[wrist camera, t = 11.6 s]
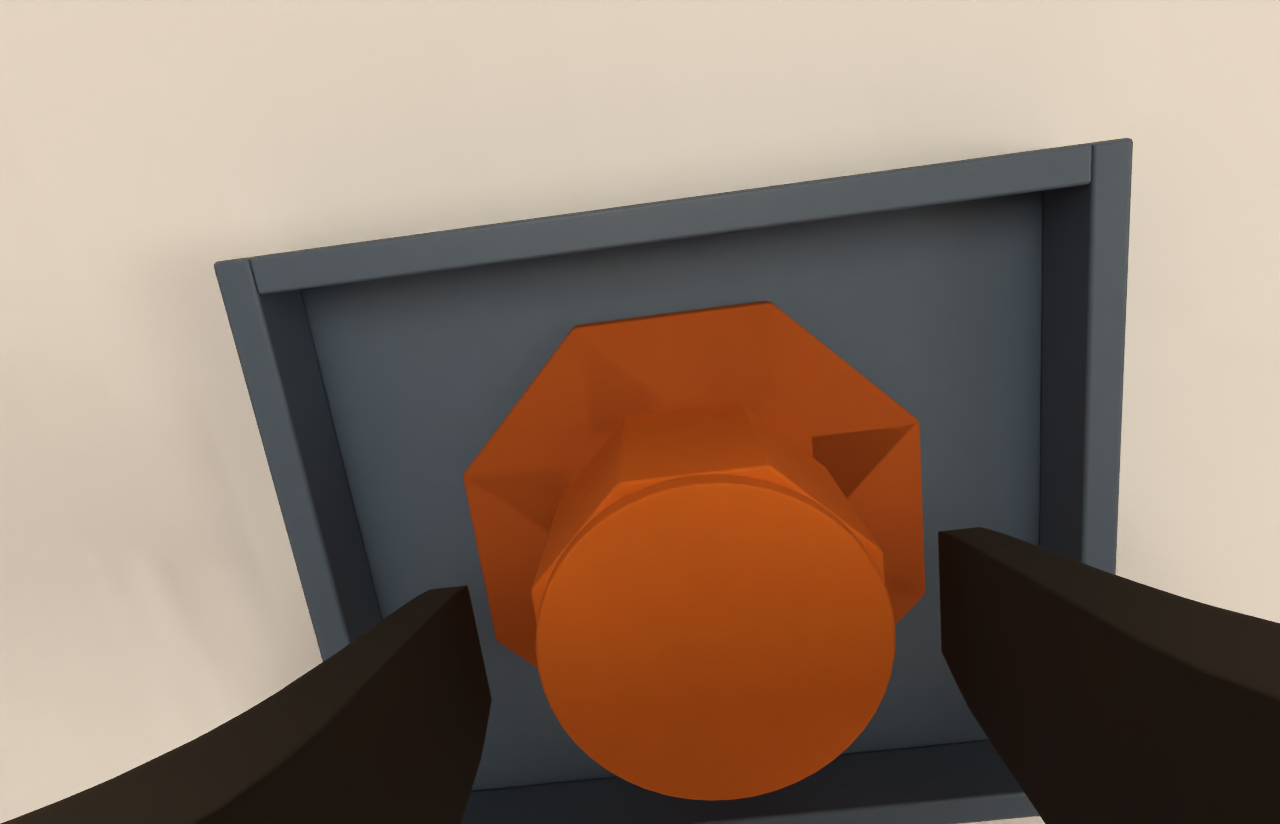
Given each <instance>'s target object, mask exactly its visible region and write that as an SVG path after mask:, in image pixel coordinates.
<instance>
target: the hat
mask: <svg viewBox="0 0 1280 824" xmlns="http://www.w3.org/2000/svg"><path fill="white" fill-rule="evenodd" d="M463 481H464V485H465V490H466V495H467V500H468V505H469V510H470V515H471V520H472V524H473V529H474V534H475V539H476V544H477V549H478V554H479V559H480V564H481V568H482V573H483V578H484V583H485V588H486V593H487V598H488V603H489V607H490V612H491V617H492V622H493V627H494V632H495V637H496V639H497V641H498V642H499V643H501V644H502V645H504V646H505V647H507V648H508V649H510V650H511V651H513V652H514V653H516V654H517V655H519V656H520V657H522V658H523V659H525V660H526V661H528V662H529V663H531V664H532V665H534V666H535V667H537V668H538V672H539V676H540V680H541V683H542V687H543V690H544V693H545V695H546V697H547V700H548V702H549V704H550V707H551V709H552V711H553V712H554V714H555V716H556V717H557V719H558V721H559V722H560V724H561V726H562V727H563V729H564V730H565V731H566V732H567V733H568V735H569V736H570V737H571V738H572V740H573V741H574V742H575V743H576V744H577V745H578V746H579V747H580V748H581V749H582V750H583V751H584V752H585V753H586V754H587V755H588V756H589V757H590V758H592V759H593V760H594V761H596V762H597V763H598V764H600V765H601V766H602V767H604V768H605V769H606V770H608V771H610V772H611V773H613V774H615V775H617V776H618V777H620V778H622V779H624V780H626V781H628V782H630V783H632V784H635V785H637V786H640V787H642V788H644V789H647V790H650V791H654V792H657V793H661V794H664V795H668V796H674V797H679V798H685V799H694V800H709V801H712V800H733V799H740V798H746V797H753V796H757V795H761V794H765V793H769V792H772V791H776V790H779V789H781V788H784V787H786V786H789V785H791V784H794V783H796V782H798V781H800V780H802V779H804V778H806V777H808V776H810V775H812V774H814V773H815V772H817V771H818V770H820V769H821V768H823V767H824V766H826V765H827V764H829V763H830V762H832V761H833V760H834V759H835V758H837V757H838V756H839V755H840V754H841V753H842V752H843V751H844V750H846V749H847V748H848V747H849V746H850V745H851V744H852V743H853V742H854V740H855V739H856V738H857V737H858V736H859V735H860V734H861V733H862V731H863V730H864V729H865V727H866V726H867V724H868V723H869V721H870V720H871V719H872V717H873V716H874V714H875V713H876V711H877V709H878V706H879V704H880V702H881V700H882V698H883V696H884V694H885V692H886V689H887V686H888V683H889V680H890V677H891V673H892V667H893V661H894V656H895V638H896V630H895V625H896V624H897V623H898V622H899V621H900V620H901V619H902V617H903V616H904V615H905V614H906V613H907V612H908V611H909V610H910V609H911V608H912V607H913V606H914V605H915V604H916V603H917V602H918V601H919V600H920V599H921V598H922V597H923V596H924V593H925V568H924V538H923V509H922V479H921V450H920V423H919V421H918V419H917V418H916V417H914V416H913V415H912V414H911V413H909V412H908V411H907V410H906V409H904V408H903V407H902V406H901V405H899V404H898V403H897V402H896V401H894V400H893V399H892V398H891V397H889V396H888V395H887V394H886V393H884V392H883V391H882V390H881V389H879V388H878V387H877V386H876V385H874V384H873V383H872V382H871V381H869V380H868V379H867V378H866V377H864V376H863V375H862V374H861V373H859V372H858V371H857V370H856V369H854V368H853V367H852V366H851V365H849V364H848V363H847V362H846V361H844V360H843V359H842V358H841V357H839V356H838V355H837V354H836V353H834V352H833V351H832V350H831V349H829V348H828V347H827V346H826V345H824V344H823V343H822V342H821V341H819V340H818V339H817V338H816V337H814V336H813V335H812V334H811V333H809V332H808V331H807V330H806V329H804V328H803V327H802V326H801V325H799V324H798V323H797V322H796V321H794V320H793V319H792V318H791V317H789V316H788V315H787V314H786V313H784V312H783V311H782V310H781V309H779V308H778V307H777V306H776V305H774V304H773V303H772V302H770V301H758V302H751V303H743V304H735V305H727V306H720V307H712V308H704V309H696V310H689V311H681V312H673V313H665V314H657V315H650V316H642V317H634V318H626V319H619V320H611V321H603V322H595V323H588V324H580V325H576V326H575V327H573V328H572V329H571V331H570V332H569V333H568V335H567V336H566V337H565V339H564V340H563V341H562V343H561V344H560V345H559V347H558V348H557V349H556V351H555V352H554V353H553V355H552V356H551V357H550V359H549V360H548V361H547V363H546V364H545V366H544V367H543V368H542V370H541V371H540V372H539V374H538V375H537V376H536V378H535V379H534V380H533V382H532V383H531V384H530V386H529V387H528V388H527V390H526V391H525V392H524V394H523V395H522V396H521V398H520V399H519V400H518V402H517V403H516V404H515V406H514V407H513V408H512V410H511V411H510V412H509V414H508V415H507V416H506V418H505V419H504V420H503V422H502V423H501V424H500V426H499V427H498V428H497V430H496V431H495V432H494V434H493V435H492V436H491V438H490V439H489V440H488V442H487V443H486V444H485V446H484V447H483V448H482V450H481V451H480V452H479V454H478V455H477V456H476V458H475V459H474V460H473V462H472V463H471V464H470V466H469V467H468V468H467V470H466V471H465V473H464V476H463Z"/></svg>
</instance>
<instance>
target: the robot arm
mask: <svg viewBox="0 0 1280 824" xmlns="http://www.w3.org/2000/svg"><path fill="white" fill-rule="evenodd" d="M938 550H939V584H940V618H941V652H942V654H943V656H944V658H945V660H946V662H947V665H948V667H949V669H950V671H951V673H952V675H953V677H954V680H955V682H956V684H957V686H958V688H959V690H960V692H961V694H962V696H963V698H964V700H965V702H966V704H967V706H968V708H969V710H970V711H971V713H972V714H973V716H974V717H975V719H976V721H977V722H978V724H979V725H980V727H981V728H982V730H983V731H984V733H985V734H986V736H987V737H988V739H989V740H990V742H991V743H992V745H993V746H994V748H995V749H996V751H997V752H998V754H999V755H1000V757H1001V758H1002V760H1003V761H1004V763H1005V764H1006V766H1007V767H1008V769H1009V770H1010V772H1011V773H1012V775H1013V776H1014V778H1015V779H1016V781H1017V782H1018V784H1019V785H1020V787H1021V788H1022V790H1023V791H1024V793H1025V794H1026V796H1027V797H1028V799H1029V800H1030V802H1031V803H1032V805H1033V806H1034V808H1035V809H1036V811H1037V812H1038V814H1039V815H1040V817H1041V818H1042V819H1043V821H1044V822H1045V824H1280V623H1276V622H1272V621H1268V620H1264V619H1260V618H1256V617H1253V616H1249V615H1245V614H1241V613H1237V612H1233V611H1229V610H1225V609H1221V608H1217V607H1214V606H1210V605H1207V604H1204V603H1200V602H1197V601H1193V600H1190V599H1187V598H1183V597H1180V596H1177V595H1174V594H1171V593H1168V592H1165V591H1162V590H1159V589H1156V588H1152V587H1149V586H1146V585H1143V584H1140V583H1137V582H1134V581H1131V580H1128V579H1126V578H1123V577H1120V576H1117V575H1114V574H1111V573H1109V572H1106V571H1103V570H1100V569H1098V568H1095V567H1092V566H1089V565H1087V564H1084V563H1081V562H1079V561H1076V560H1073V559H1071V558H1068V557H1066V556H1063V555H1060V554H1058V553H1055V552H1052V551H1050V550H1047V549H1044V548H1042V547H1039V546H1037V545H1034V544H1031V543H1029V542H1026V541H1023V540H1021V539H1018V538H1015V537H1012V536H1009V535H1006V534H1003V533H1000V532H997V531H994V530H990V529H986V528H982V527H974V528H966V529H957V530H948V531H939V532H938ZM491 701H492V698H491V693H490V689H489V684H488V679H487V674H486V670H485V665H484V660H483V655H482V651H481V646H480V641H479V636H478V632H477V627H476V622H475V617H474V612H473V608H472V603H471V598H470V593H469V589H468V585H465V586H456V587H448V588H439V589H430V590H428V591H426V592H424V593H422V594H420V595H418V596H417V597H415V598H414V599H412V600H410V601H409V602H407V603H406V604H405V605H403V606H402V607H400V608H399V609H397V610H396V611H394V612H393V613H392V614H390V615H389V616H387V617H386V618H385V619H383V620H382V621H380V622H379V623H378V624H376V625H375V626H374V627H372V628H371V629H369V630H368V631H367V632H365V633H364V634H362V635H361V636H360V637H358V638H357V639H355V640H354V641H353V642H351V643H350V644H348V645H347V646H346V647H344V648H343V649H341V650H340V651H339V652H337V653H336V654H334V655H333V656H331V657H330V658H328V659H327V660H325V661H324V662H322V663H321V664H319V665H318V666H316V667H315V668H313V669H312V670H310V671H309V672H307V673H306V674H304V675H303V676H301V677H300V678H298V679H297V680H295V681H294V682H292V683H291V684H289V685H288V686H286V687H285V688H283V689H282V690H280V691H279V692H277V693H276V694H274V695H272V696H271V697H269V698H267V699H266V700H264V701H262V702H261V703H259V704H257V705H256V706H254V707H252V708H251V709H249V710H247V711H246V712H244V713H242V714H240V715H238V716H237V717H235V718H233V719H231V720H229V721H228V722H226V723H224V724H222V725H220V726H219V727H217V728H215V729H213V730H211V731H210V732H208V733H206V734H204V735H202V736H200V737H198V738H196V739H194V740H192V741H191V742H188V743H186V744H184V745H182V746H180V747H178V748H176V749H174V750H172V751H170V752H167V753H165V754H163V755H161V756H159V757H157V758H155V759H153V760H151V761H149V762H147V763H144V764H142V765H140V766H138V767H136V768H134V769H132V770H130V771H128V772H126V773H124V774H121V775H119V776H117V777H115V778H113V779H111V780H108V781H106V782H104V783H101V784H99V785H97V786H94V787H92V788H89V789H87V790H85V791H82V792H80V793H78V794H75V795H73V796H70V797H68V798H66V799H63V800H61V801H58V802H56V803H53V804H51V805H48V806H45V807H43V808H40V809H38V810H35V811H33V812H30V813H28V814H25V815H22V816H20V817H17V818H15V819H12V820H9V821H7V822H4V823H1V824H460V823H461V820H462V817H463V814H464V811H465V808H466V805H467V802H468V799H469V796H470V793H471V790H472V786H473V783H474V780H475V777H476V774H477V771H478V768H479V764H480V761H481V757H482V752H483V747H484V742H485V737H486V731H487V725H488V719H489V713H490V707H491Z"/></svg>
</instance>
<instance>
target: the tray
mask: <svg viewBox="0 0 1280 824" xmlns="http://www.w3.org/2000/svg"><path fill="white" fill-rule="evenodd" d="M1132 148H1133V142H1132V139H1129V138H1122V139H1115V140H1108V141H1100V142H1093V143H1086V144H1078V145H1071V146H1064V147H1056V148H1049V149H1042V150H1034V151H1027V152H1019V153H1012V154H1005V155H997V156H990V157H983V158H975V159H968V160H961V161H953V162H946V163H939V164H931V165H924V166H917V167H909V168H902V169H894V170H887V171H880V172H872V173H865V174H858V175H850V176H843V177H836V178H828V179H821V180H814V181H806V182H799V183H791V184H784V185H777V186H769V187H762V188H755V189H747V190H740V191H733V192H725V193H718V194H711V195H703V196H696V197H689V198H681V199H674V200H666V201H659V202H652V203H644V204H637V205H630V206H622V207H615V208H608V209H600V210H593V211H586V212H578V213H571V214H564V215H556V216H549V217H541V218H534V219H527V220H519V221H512V222H505V223H497V224H490V225H483V226H475V227H468V228H461V229H453V230H446V231H439V232H431V233H424V234H416V235H409V236H402V237H394V238H387V239H380V240H372V241H365V242H358V243H350V244H343V245H336V246H328V247H321V248H314V249H306V250H299V251H291V252H284V253H277V254H269V255H262V256H255V257H248V258H240V259H233V260H225V261H218V262H216V263H215V264H214V269H215V272H216V276H217V280H218V283H219V287H220V291H221V294H222V298H223V301H224V305H225V309H226V312H227V316H228V320H229V323H230V327H231V330H232V334H233V338H234V341H235V345H236V349H237V352H238V356H239V359H240V363H241V367H242V370H243V374H244V378H245V381H246V385H247V388H248V392H249V396H250V399H251V403H252V407H253V410H254V414H255V417H256V421H257V425H258V428H259V432H260V436H261V439H262V443H263V446H264V450H265V454H266V457H267V461H268V465H269V468H270V472H271V475H272V479H273V483H274V486H275V490H276V493H277V497H278V501H279V504H280V508H281V512H282V515H283V519H284V522H285V526H286V530H287V533H288V537H289V541H290V544H291V548H292V551H293V555H294V559H295V562H296V566H297V570H298V573H299V577H300V580H301V584H302V588H303V591H304V595H305V599H306V602H307V606H308V609H309V613H310V617H311V620H312V624H313V628H314V631H315V635H316V638H317V642H318V646H319V649H320V653H321V657H322V660H323V662H324V661H325V660H327V659H328V658H330V657H331V656H333V655H334V654H336V653H337V652H339V651H340V650H341V649H343V648H344V647H346V646H347V645H348V644H350V643H351V642H353V641H354V640H355V639H357V638H358V637H360V636H361V635H362V634H364V633H365V632H367V631H368V630H369V629H371V628H372V627H374V626H375V625H376V624H378V623H379V622H380V621H382V620H383V619H385V618H386V617H387V616H389V615H390V614H392V613H393V612H394V611H396V610H397V609H399V608H400V607H402V606H403V605H405V604H406V603H407V602H409V601H410V600H412V599H414V598H415V597H417V596H418V595H420V594H422V593H424V592H426V591H428V590H430V589H439V588H448V587H456V586H465V585H468V589H469V593H470V598H471V603H472V608H473V612H474V617H475V622H476V627H477V632H478V636H479V641H480V646H481V651H482V655H483V660H484V665H485V670H486V674H487V679H488V684H489V689H490V693H491V698H492V701H491V707H490V713H489V719H488V725H487V731H486V737H485V742H484V747H483V752H482V757H481V761H480V764H479V768H478V771H477V774H476V777H475V780H474V783H473V786H472V790H471V793H470V796H469V799H468V802H467V805H466V808H465V811H464V814H463V817H462V820H461V823H460V824H958V823H969V822H980V821H990V820H1001V819H1012V818H1022V817H1033V816H1040V815H1039V814H1038V812H1037V811H1036V809H1035V808H1034V806H1033V805H1032V803H1031V802H1030V800H1029V799H1028V797H1027V796H1026V794H1025V793H1024V791H1023V790H1022V788H1021V787H1020V785H1019V784H1018V782H1017V781H1016V779H1015V778H1014V776H1013V775H1012V773H1011V772H1010V770H1009V769H1008V767H1007V766H1006V764H1005V763H1004V761H1003V760H1002V758H1001V757H1000V755H999V754H998V752H997V751H996V749H995V748H994V746H993V745H992V743H991V742H990V740H989V739H988V737H987V736H986V734H985V733H984V731H983V730H982V728H981V727H980V725H979V724H978V722H977V721H976V719H975V717H974V716H973V714H972V713H971V711H970V710H969V708H968V706H967V704H966V702H965V700H964V698H963V696H962V694H961V692H960V690H959V688H958V686H957V684H956V682H955V680H954V677H953V675H952V673H951V671H950V669H949V667H948V665H947V662H946V660H945V658H944V656H943V654H942V652H941V618H940V584H939V550H938V532H939V531H948V530H957V529H966V528H974V527H982V528H986V529H990V530H994V531H997V532H1000V533H1003V534H1006V535H1009V536H1012V537H1015V538H1018V539H1021V540H1023V541H1026V542H1029V543H1031V544H1034V545H1037V546H1039V547H1042V548H1044V549H1047V550H1050V551H1052V552H1055V553H1058V554H1060V555H1063V556H1066V557H1068V558H1071V559H1073V560H1076V561H1079V562H1081V563H1084V564H1087V565H1089V566H1092V567H1095V568H1098V569H1100V570H1103V571H1106V572H1109V573H1111V574H1114V575H1115V572H1116V547H1117V522H1118V497H1119V472H1120V447H1121V422H1122V397H1123V372H1124V347H1125V322H1126V298H1127V273H1128V248H1129V223H1130V198H1131V173H1132ZM758 301H770V302H772V303H773V304H774V305H776V306H777V307H778V308H779V309H781V310H782V311H783V312H784V313H786V314H787V315H788V316H789V317H791V318H792V319H793V320H794V321H796V322H797V323H798V324H799V325H801V326H802V327H803V328H804V329H806V330H807V331H808V332H809V333H811V334H812V335H813V336H814V337H816V338H817V339H818V340H819V341H821V342H822V343H823V344H824V345H826V346H827V347H828V348H829V349H831V350H832V351H833V352H834V353H836V354H837V355H838V356H839V357H841V358H842V359H843V360H844V361H846V362H847V363H848V364H849V365H851V366H852V367H853V368H854V369H856V370H857V371H858V372H859V373H861V374H862V375H863V376H864V377H866V378H867V379H868V380H869V381H871V382H872V383H873V384H874V385H876V386H877V387H878V388H879V389H881V390H882V391H883V392H884V393H886V394H887V395H888V396H889V397H891V398H892V399H893V400H894V401H896V402H897V403H898V404H899V405H901V406H902V407H903V408H904V409H906V410H907V411H908V412H909V413H911V414H912V415H913V416H914V417H916V418H917V419H918V421H919V423H920V450H921V479H922V509H923V538H924V568H925V593H924V596H923V597H922V598H921V599H920V600H919V601H918V602H917V603H916V604H915V605H914V606H913V607H912V608H911V609H910V610H909V611H908V612H907V613H906V614H905V615H904V616H903V617H902V619H901V620H900V621H899V622H898V623H897V624H896V625H895V630H896V638H895V656H894V661H893V667H892V673H891V677H890V680H889V683H888V686H887V689H886V692H885V694H884V696H883V698H882V700H881V702H880V704H879V706H878V709H877V711H876V713H875V714H874V716H873V717H872V719H871V720H870V721H869V723H868V724H867V726H866V727H865V729H864V730H863V731H862V733H861V734H860V735H859V736H858V737H857V738H856V739H855V740H854V742H853V743H852V744H851V745H850V746H849V747H848V748H847V749H846V750H844V751H843V752H842V753H841V754H840V755H839V756H838V757H837V758H835V759H834V760H833V761H832V762H830V763H829V764H827V765H826V766H824V767H823V768H821V769H820V770H818V771H817V772H815V773H814V774H812V775H810V776H808V777H806V778H804V779H802V780H800V781H798V782H796V783H794V784H791V785H789V786H786V787H784V788H781V789H779V790H776V791H772V792H769V793H765V794H761V795H757V796H753V797H746V798H740V799H733V800H712V801H709V800H694V799H685V798H679V797H674V796H668V795H664V794H661V793H657V792H654V791H650V790H647V789H644V788H642V787H640V786H637V785H635V784H632V783H630V782H628V781H626V780H624V779H622V778H620V777H618V776H617V775H615V774H613V773H611V772H610V771H608V770H606V769H605V768H604V767H602V766H601V765H600V764H598V763H597V762H596V761H594V760H593V759H592V758H590V757H589V756H588V755H587V754H586V753H585V752H584V751H583V750H582V749H581V748H580V747H579V746H578V745H577V744H576V743H575V742H574V741H573V740H572V738H571V737H570V736H569V735H568V733H567V732H566V731H565V730H564V729H563V727H562V726H561V724H560V722H559V721H558V719H557V717H556V716H555V714H554V712H553V711H552V709H551V707H550V704H549V702H548V700H547V697H546V695H545V693H544V690H543V687H542V683H541V680H540V676H539V672H538V668H537V667H535V666H534V665H532V664H531V663H529V662H528V661H526V660H525V659H523V658H522V657H520V656H519V655H517V654H516V653H514V652H513V651H511V650H510V649H508V648H507V647H505V646H504V645H502V644H501V643H499V642H498V641H497V639H496V637H495V632H494V627H493V622H492V617H491V612H490V607H489V603H488V598H487V593H486V588H485V583H484V578H483V573H482V568H481V564H480V559H479V554H478V549H477V544H476V539H475V534H474V529H473V524H472V520H471V515H470V510H469V505H468V500H467V495H466V490H465V485H464V481H463V476H464V473H465V471H466V470H467V468H468V467H469V466H470V464H471V463H472V462H473V460H474V459H475V458H476V456H477V455H478V454H479V452H480V451H481V450H482V448H483V447H484V446H485V444H486V443H487V442H488V440H489V439H490V438H491V436H492V435H493V434H494V432H495V431H496V430H497V428H498V427H499V426H500V424H501V423H502V422H503V420H504V419H505V418H506V416H507V415H508V414H509V412H510V411H511V410H512V408H513V407H514V406H515V404H516V403H517V402H518V400H519V399H520V398H521V396H522V395H523V394H524V392H525V391H526V390H527V388H528V387H529V386H530V384H531V383H532V382H533V380H534V379H535V378H536V376H537V375H538V374H539V372H540V371H541V370H542V368H543V367H544V366H545V364H546V363H547V361H548V360H549V359H550V357H551V356H552V355H553V353H554V352H555V351H556V349H557V348H558V347H559V345H560V344H561V343H562V341H563V340H564V339H565V337H566V336H567V335H568V333H569V332H570V331H571V329H572V328H573V327H575V326H576V325H580V324H588V323H595V322H603V321H611V320H619V319H626V318H634V317H642V316H650V315H657V314H665V313H673V312H681V311H689V310H696V309H704V308H712V307H720V306H727V305H735V304H743V303H751V302H758Z"/></svg>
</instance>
